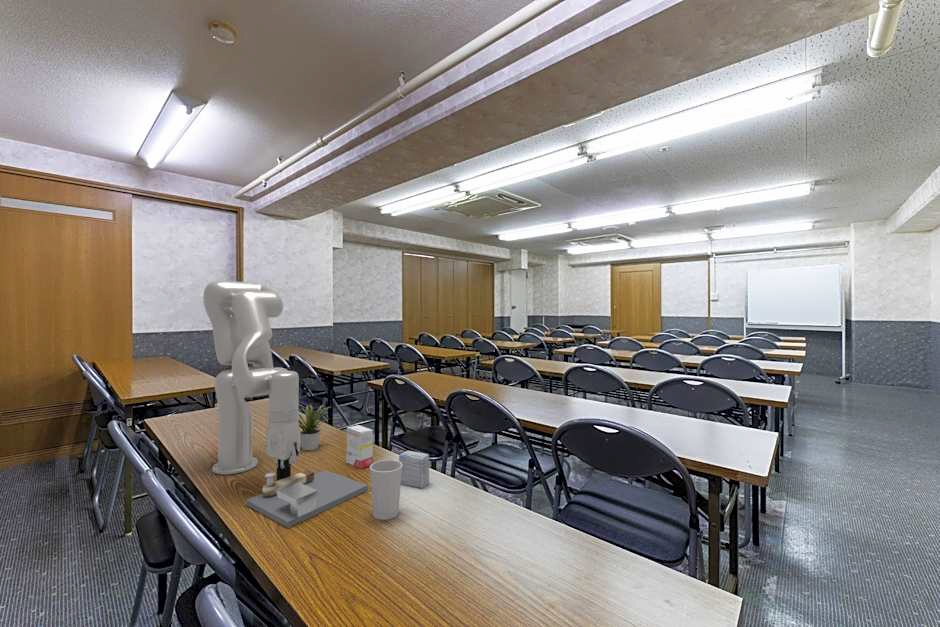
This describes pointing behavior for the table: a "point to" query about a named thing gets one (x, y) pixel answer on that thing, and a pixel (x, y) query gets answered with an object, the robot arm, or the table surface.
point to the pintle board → (329, 495)
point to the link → (288, 482)
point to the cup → (386, 488)
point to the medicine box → (414, 468)
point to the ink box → (359, 446)
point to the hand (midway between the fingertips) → (283, 480)
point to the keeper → (299, 498)
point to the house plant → (310, 429)
